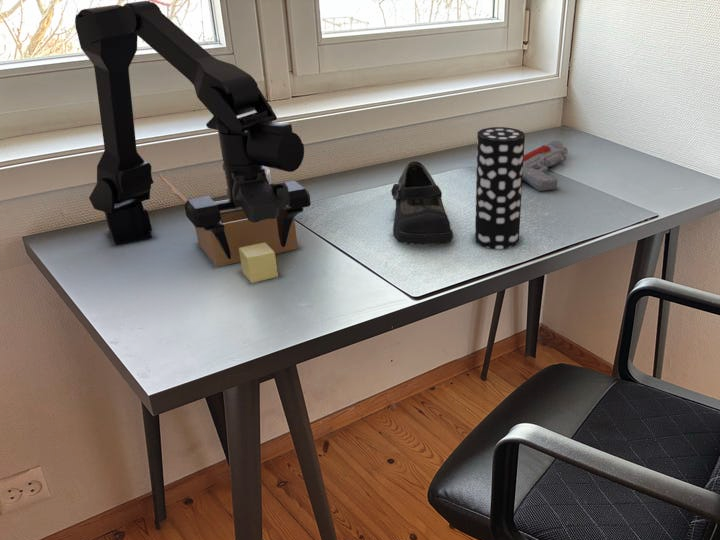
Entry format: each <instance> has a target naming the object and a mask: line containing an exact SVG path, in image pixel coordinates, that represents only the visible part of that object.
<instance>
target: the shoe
mask: <svg viewBox="0 0 720 540" xmlns="http://www.w3.org/2000/svg"><path fill="white" fill-rule="evenodd" d="M442 194H443V192H442V190H441V188H440V187H439V186H438V184H436V182H435V180H434V178H433V176H432V175H431V174H430V172H429V171H428V169H427V168H426V166H424V164H422V163H421V162H419V161H411V162H409V163H408V164H407V165H406V166H405V167H404V170H403V171H402V174H401V175H400V177H399V179H398V182H397V183H394V184H393V185H392V188H391V196H392V200H393V201H395V210H394V211H395V212H394V220H393V225H392V235H393V237H394V239H395V240H396V241H397V242H400V243H402V244H407V245H434V244H435V245H441V244H448V243H451V242H452V241H453V239H454V233H453V230H452V228H451V223H450V219H449V217H448V215H447V212H446V209H445V206H444V202H443V199H442Z"/></svg>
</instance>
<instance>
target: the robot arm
mask: <svg viewBox="0 0 720 540" xmlns="http://www.w3.org/2000/svg"><path fill="white" fill-rule="evenodd" d="M74 25H75V30H76V34H77V38H78V42H79V47H80V49H81V51H82V52H83V53H84V54H85V56H86V57H87V59H89V61H90V62H91V63H92V65H93V68H94V69H93V70H94V75H95V83H96V91H97V93H96V94H97V101H98V108H99V115H100V124H101V131H102V132H101V133H102V139H103V140H102V141H103V147H104V150H103V153H102V155H101V157H100V159H99V161H98V163H97V165H96V184H95V186H94V188H93V189H92V192H91V194H90V195H89V196H88V199H89V201H90V203H91V205H92V207H93V209H94V210H96V211H100V212H103V213H104V215H105V219H106V220H105V221H106V223H107V227H108V230H107V232H108V235H109V237H110V238H111V240H112V242H113V243H114V245H123V244H127V243H133V242H137V241H143V240H147V239H152V238H153V234H152V232H153V228H152V223H151V219H150V214H149V211H148V209H147V208H146V207H145V206H144V205H143V202H144V201H149V200H150V199H151V189H152V185H153V184H154V183H155V182H154V180H153V176H152V165H151V163H150V162H147V161H145V160H144V158H143V157H142V156H141V155H140V153H139V152H138V150H137V149H138V148H137V141H136V130H135V119H134V110H133V109H134V108H133V99H132V89H131V82H130V81H131V79H130V66H131V64H132V61H133V60H134V58H135V55H136V53H137V52H138V37H139V38H140V39H141V40H142V41H143V42H144V43H146V44H147V45H148V46H149V47H151V49H153V50H154V51H155V52H156V53H157V54H158V55H159V56H160V57H162V58H163V59H164V60H165V61H167V63H169V65H171V66H172V67H173V68H174V69H176V70H177V71H178V72H179V73H180V74H181V75H183V76H184V77H185V78H186V79H187V80H188V81H189V82H190V83H191V84H192V85H193V88H194V91H195V95H196V97H197V99H198V100H199V102H201V104H203V106H204V107H205V108H206V109H207V110H208V111H209V112H210V114H211V115H213V116H212V117H211V119H209V120H208V121H207V122H206V128H207V129H211V130H215V131H217V133H218V139H219V145H220V146H219V147H220V151H221V152H220V153H221V157H222V163H221V164H222V170H223V172H224V176H225V181H226V186H227V188H226V195H227V196H228V199H230V200H228V199H225V200H226V201H222V200H219V201H220V202H217V201H214V199H212V197H211V196H209V195H206V196H201V197H195V198H189V199H187V201H186V203H185V204H184V211H185V216H186V217H187V219H188V220H189V222H191V224H192V225H193V226H194V228H195V227H198V228H203V229H204V230H206V231H210V230H211V231H212V233H213V234H214V236H215V238H216V239H217V241H218V243H219V244H220V246H221V248H222V250H223V251H224V253H225V255H226V256H227V258H228V259H231V254H230V249H229V245H228V242H227V238H226V235H225V231H224V224H223V223H222V222H221V221H220V220H221V214H225V213H230V212H236V211H241V210H243V211H244V213H245V214H246V216H247V219H248V220H249V221H250V222H259V221H261V220H265V219H275V218H277V226H278V235H279V240H280V244H281V246H282V247H285V246H286V242H287V238H288V234H289V230H290V226H291V223H292V221H293V218H294V219H295V218H296V216H297V215H298V214H300V213H303V212H304V208H308V207H310V206H311V204H312V203H311V194H310V193H309V190H308V189H306V188H305V187H304V186H303V185H301V184H300V183H299V182H297V181H296V180H292V181H285V182H278V183H271V184H269V182H268V180H267V178H266V173H265V169H264V168H263V167H262V166H264V167H267V168H269V169H274V170H279V171H283V172H287V173H293V172H295V171H297V170H298V169H299V168H300V166H301V165H302V163H303V160H304V157H305V144H304V143H303V141H302V139H301V137H300V136H299V135H298V134H297V133H295V132H293V126H292V124H291V123H289V122H275V121H276V120H277V119H278V116H277V114H276V113H275V112H274V110H273V107H272V106H271V105H270V103H269V102H268V101H267V99H266V97H265V96H264V94H263V93H262V91H261V89H260V88H259V85H258V83H257V80H255V78H254V77H253V76H252V75H251V74H250V73H248V72H246V70H245V71H244V69H241V68H240V67H238V66H237V65H235V64H233V63H230V62H227V61H224V60H221V59H218V58H216V57H215V56H213V55H211V53H209V52H208V51H207V50H205V48H204V47H202V46H201V45H200V44H199V43H198V42H196V41H195V40H194V39H193V38H192V37H190V36H189V35H188V34H187V33H186V32H185V31H184V30H182V29H181V28H180V27H179V26H178V25H177V24H176V23H174V22H173V21H172V20H171V19H170V18H168V17H167V16H166V15H165V14H164V13H162V10H161V8H160V7H159V5H158V4H157V3H155V2H153V1H151V0H141V1H134V2H127V3H123V5H120V4H112V5H111V4H110V5H105V6H98V7H90V8H83V9H81V10H79V12H78V13H77V14H75V19H74ZM253 111H255V112H253ZM250 112H253V113H250ZM247 113H249V114H247ZM245 114H247V115H245ZM241 115H244V116H241ZM238 116H240V117H238Z"/></svg>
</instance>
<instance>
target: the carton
mask: <svg viewBox="0 0 720 540" xmlns="http://www.w3.org/2000/svg"><path fill="white" fill-rule="evenodd" d="M226 200H230V199H229V198H228V199H223V200H217V201H216V202H220V201H226ZM220 221H221V222H222V223H223V224H224V231H225V235H226V238H227V242H228V245H229V249H230V254H231V259H228V258H227V256H226V255H225V253H224V251H223V250H222V248H221V246H220V244H219V243H218V241H217V239H216V238H215V236H214V234H213V233H212V231H211V230H210V231H206V230H204V229H203V228H198V227H195V226H194V229H195V234H196V238H197V244H198V246H199V247H200V248H201V250H203V252H204V253H205V255H206V256H207V257H208V258H209V259H210V261H211V262H212V264H214V266H215V267H216V268H218V267H219V268H220V267H224V266H227V265H232V264H236V263H241V260H240V254H239V248H241V247H245V246H250V245H255V244H259V243H264V242H265V243H266V244H267V245H268V246H269V247H270V248H271V249H272V250H273V251H274V252H275V255H276V254H280V253H285V252H289V251H295V250H298V249H299V244H298V238H297V229H296V221H295V217H294V218H293V221H292V223H291V226H290V230H289V234H288V238H287V242H286V246H285V247H282V246H281V244H280V240H279V235H278V226H277V218H275V219H265V220H261V221H259V222H250V221H249V220H248V219H247V216H246V214H245V213H244V211H243V210H241V211H236V212H230V213H225V214H221V220H220Z"/></svg>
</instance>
